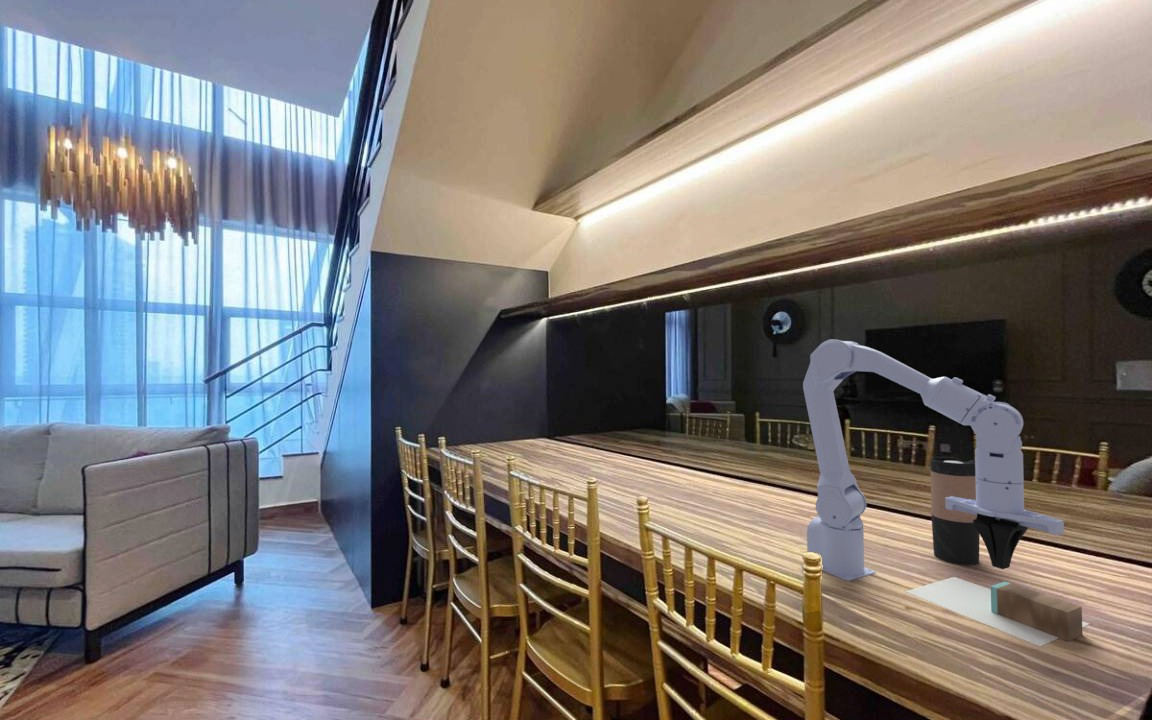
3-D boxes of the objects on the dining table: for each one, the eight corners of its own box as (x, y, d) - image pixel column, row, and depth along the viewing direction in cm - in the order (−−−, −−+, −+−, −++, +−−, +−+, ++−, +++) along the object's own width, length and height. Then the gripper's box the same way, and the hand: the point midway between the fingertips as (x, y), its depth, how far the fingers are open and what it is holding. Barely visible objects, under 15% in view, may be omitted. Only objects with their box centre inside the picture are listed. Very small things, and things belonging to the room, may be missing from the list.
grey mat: (905, 593, 82) (904, 591, 82) (954, 578, 88) (954, 576, 88) (1040, 649, 66) (1040, 646, 66) (1089, 626, 71) (1089, 623, 71)
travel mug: (939, 564, 94) (936, 462, 95) (927, 551, 101) (924, 455, 102) (987, 570, 92) (984, 464, 92) (971, 555, 99) (969, 458, 99)
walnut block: (990, 586, 75) (1067, 612, 67) (1004, 581, 77) (1081, 606, 69) (991, 612, 75) (1068, 641, 67) (1005, 606, 77) (1082, 634, 69)
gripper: (933, 473, 81) (935, 554, 81) (1044, 493, 68) (1047, 590, 67) (958, 469, 84) (960, 547, 84) (1070, 488, 70) (1072, 581, 70)
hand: (1000, 566), depth 76 cm, fingers closed
